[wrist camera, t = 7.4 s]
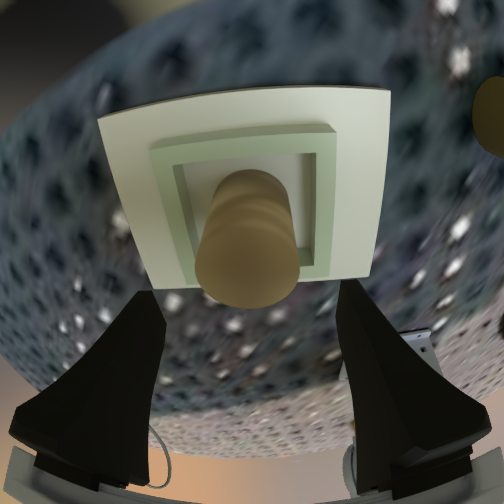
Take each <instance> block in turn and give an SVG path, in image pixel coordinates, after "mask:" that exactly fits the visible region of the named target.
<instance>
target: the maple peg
mask: <svg viewBox="0 0 504 504" xmlns="http://www.w3.org/2000/svg"><path fill="white" fill-rule="evenodd" d="M195 275H196V278H197V281H198V283H199V284H200V286H201V287H202V289H203V290H204V291H205V292H206V293H207V294H208V295H209V296H210V297H212V298H213V299H215V300H217V301H219V302H220V303H223V304H225V305H228V306H231V307H236V308H243V309H254V308H262V307H266V306H269V305H272V304H275V303H277V302H279V301H280V300H282V299H284V298H285V297H286V296H287V295H289V294H290V293H291V291H292V290H293V289H294V287H295V286H296V284H297V282H298V279H299V275H300V265H299V258H298V252H297V245H296V239H295V233H294V227H293V221H292V215H291V209H290V203H289V198H288V194H287V191H286V189H285V187H284V186H283V184H282V183H281V182H280V181H279V180H278V179H277V178H276V177H274V176H273V175H271V174H269V173H267V172H265V171H261V170H256V169H246V170H240V171H237V172H234V173H232V174H230V175H228V176H227V177H226V178H224V179H223V180H222V181H221V183H220V184H219V185H218V187H217V188H216V191H215V193H214V197H213V200H212V203H211V207H210V210H209V213H208V217H207V220H206V224H205V227H204V231H203V234H202V238H201V241H200V245H199V249H198V252H197V256H196V260H195Z"/></svg>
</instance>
